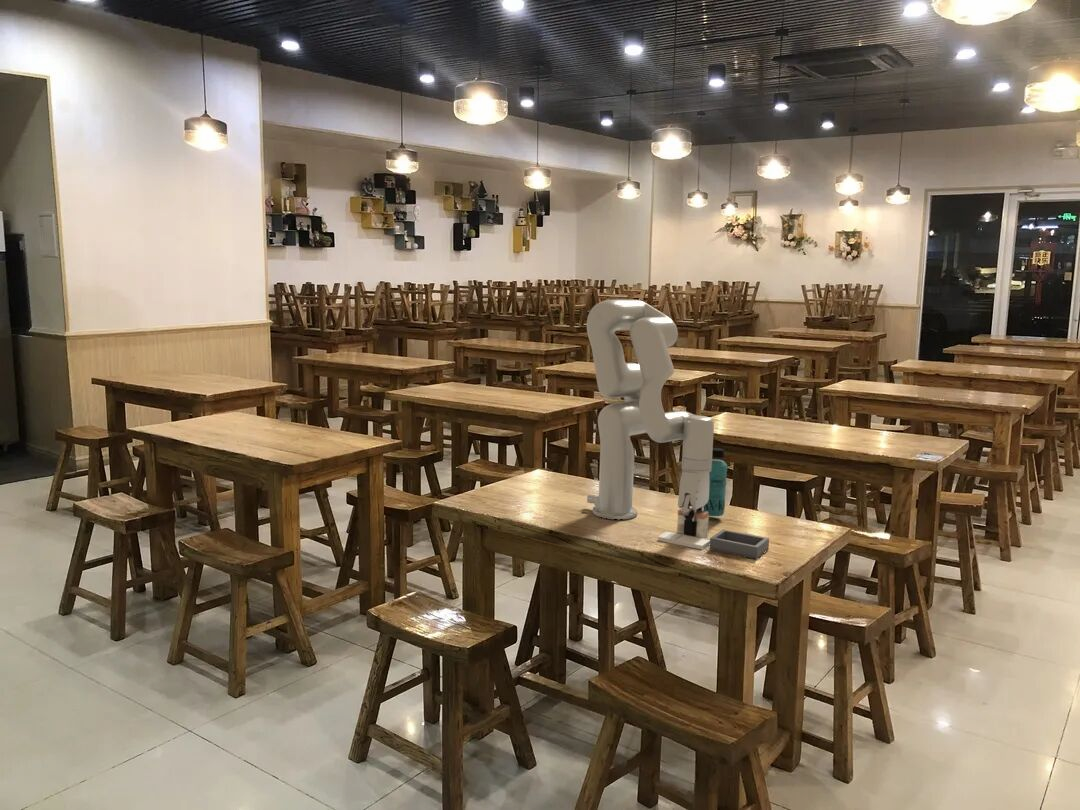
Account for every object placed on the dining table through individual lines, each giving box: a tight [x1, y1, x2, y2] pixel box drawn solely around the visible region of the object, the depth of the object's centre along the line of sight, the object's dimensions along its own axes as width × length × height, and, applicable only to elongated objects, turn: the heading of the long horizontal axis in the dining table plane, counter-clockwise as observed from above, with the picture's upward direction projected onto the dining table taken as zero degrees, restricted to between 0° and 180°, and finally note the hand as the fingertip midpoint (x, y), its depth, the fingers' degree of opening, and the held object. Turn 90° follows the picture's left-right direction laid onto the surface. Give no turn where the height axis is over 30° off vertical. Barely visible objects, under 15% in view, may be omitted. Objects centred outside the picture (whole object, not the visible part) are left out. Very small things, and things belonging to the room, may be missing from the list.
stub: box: [676, 507, 710, 539], centre depth 221 cm, size 7×4×7 cm, turn 57°
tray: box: [709, 529, 770, 560], centre depth 212 cm, size 12×9×3 cm
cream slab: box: [657, 530, 710, 550], centre depth 218 cm, size 12×6×1 cm, turn 58°
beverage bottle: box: [704, 447, 728, 517], centre depth 238 cm, size 6×7×20 cm
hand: (693, 532), depth 221 cm, fingers closed on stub, 3 cm apart
